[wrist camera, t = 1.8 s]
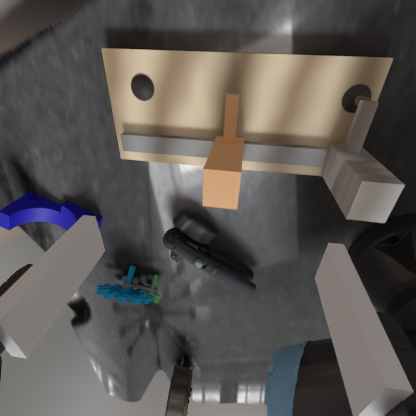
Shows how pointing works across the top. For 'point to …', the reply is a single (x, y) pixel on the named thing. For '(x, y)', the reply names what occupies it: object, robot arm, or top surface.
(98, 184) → the top surface
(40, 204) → the cable clip
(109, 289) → the gear
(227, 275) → the can opener
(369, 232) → the robot arm
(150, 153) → the plate
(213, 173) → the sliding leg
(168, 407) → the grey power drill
